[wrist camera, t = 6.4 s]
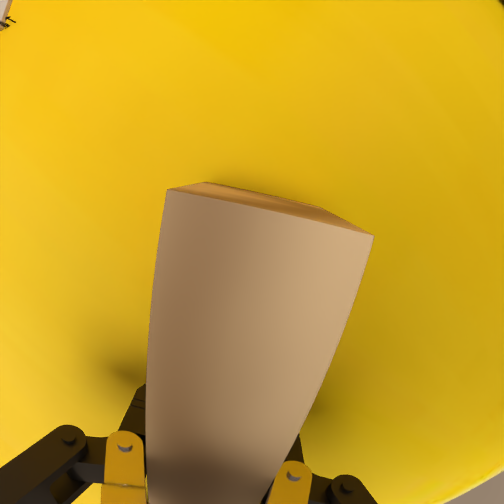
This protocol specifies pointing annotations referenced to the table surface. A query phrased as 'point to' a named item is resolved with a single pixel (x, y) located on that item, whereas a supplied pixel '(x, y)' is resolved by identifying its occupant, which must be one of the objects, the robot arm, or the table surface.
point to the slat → (240, 336)
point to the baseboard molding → (4, 13)
